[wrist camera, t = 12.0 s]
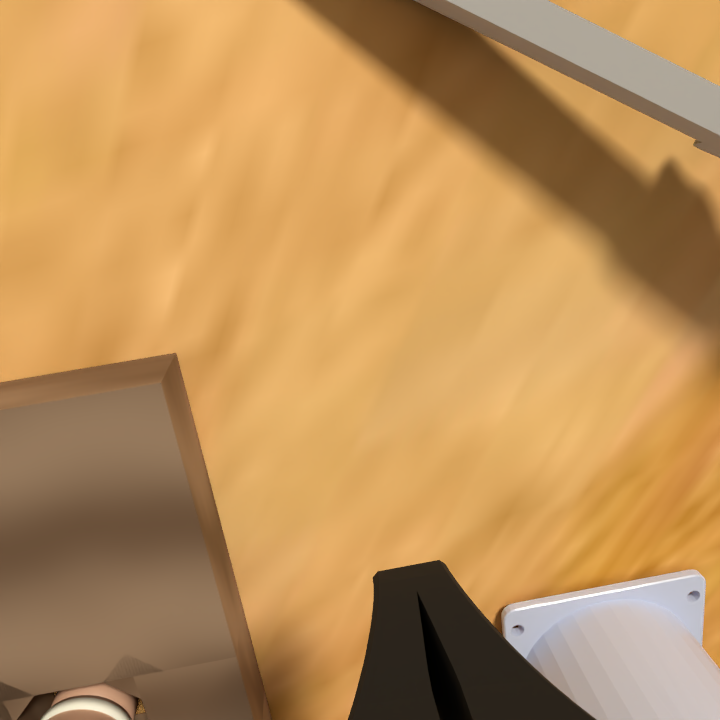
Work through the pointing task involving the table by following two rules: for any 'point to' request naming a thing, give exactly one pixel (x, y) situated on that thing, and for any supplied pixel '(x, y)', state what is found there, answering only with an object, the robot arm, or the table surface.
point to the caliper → (597, 61)
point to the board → (116, 550)
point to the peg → (92, 704)
